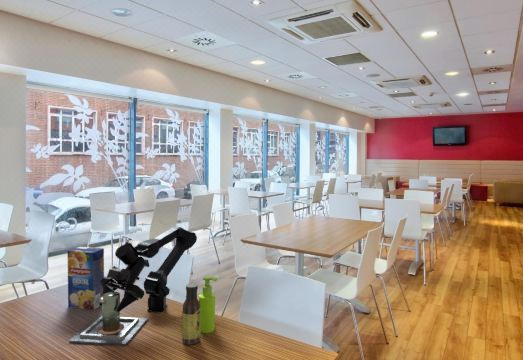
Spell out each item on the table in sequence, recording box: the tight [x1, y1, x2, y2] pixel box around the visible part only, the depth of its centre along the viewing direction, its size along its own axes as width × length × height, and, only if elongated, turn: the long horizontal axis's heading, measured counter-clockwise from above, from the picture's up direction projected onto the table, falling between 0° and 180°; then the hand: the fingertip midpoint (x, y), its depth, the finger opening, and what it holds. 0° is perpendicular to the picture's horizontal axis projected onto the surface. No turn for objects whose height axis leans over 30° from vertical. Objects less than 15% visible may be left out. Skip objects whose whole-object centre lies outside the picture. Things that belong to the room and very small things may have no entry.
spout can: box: [99, 291, 121, 332], centre depth 136 cm, size 8×6×13 cm
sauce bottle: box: [181, 283, 201, 345], centre depth 131 cm, size 6×6×20 cm
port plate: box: [68, 315, 149, 347], centre depth 137 cm, size 20×20×2 cm
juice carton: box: [67, 246, 105, 311], centre depth 159 cm, size 12×8×24 cm, turn 79°
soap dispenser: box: [198, 276, 219, 334], centre depth 139 cm, size 6×7×20 cm
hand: (108, 308), depth 136 cm, fingers open, 9 cm apart
